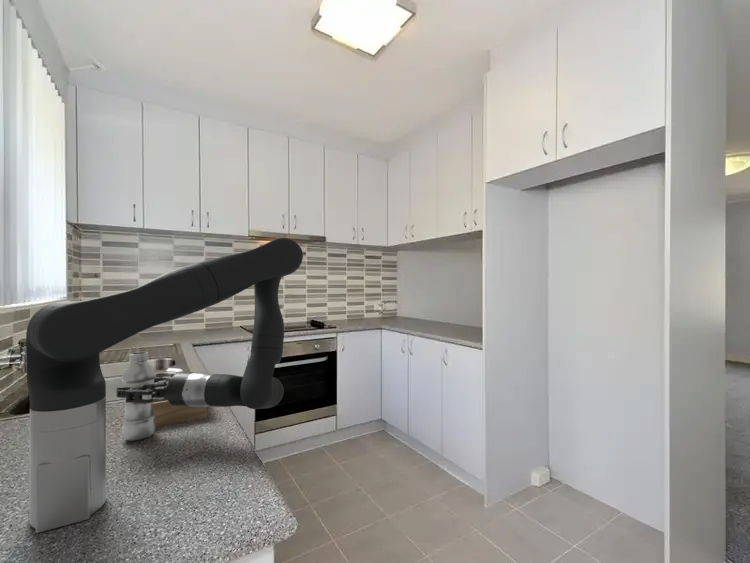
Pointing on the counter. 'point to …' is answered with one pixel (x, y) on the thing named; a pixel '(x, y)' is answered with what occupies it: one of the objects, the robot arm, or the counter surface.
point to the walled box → (175, 412)
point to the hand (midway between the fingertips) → (133, 386)
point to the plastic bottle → (138, 415)
